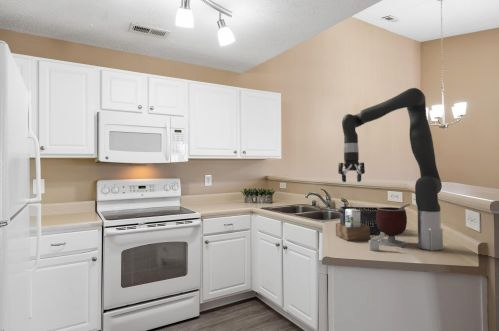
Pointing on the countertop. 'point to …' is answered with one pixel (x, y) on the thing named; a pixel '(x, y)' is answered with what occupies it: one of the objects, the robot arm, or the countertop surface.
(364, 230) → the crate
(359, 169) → the robot arm
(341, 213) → the storage bin
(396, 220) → the mate gourd
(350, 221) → the syrup box
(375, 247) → the lighter
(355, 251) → the countertop surface
